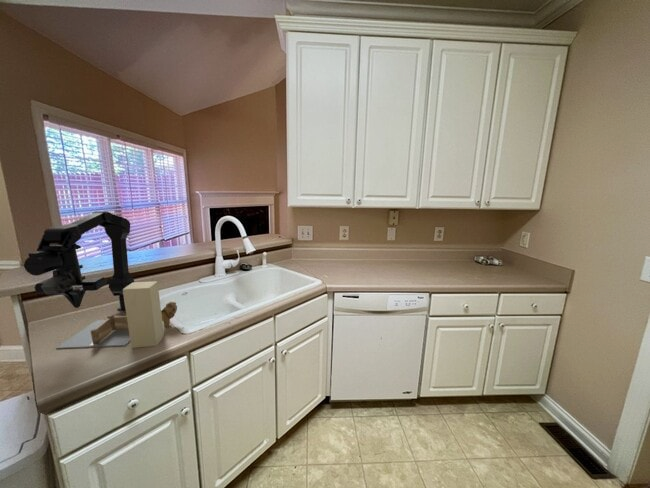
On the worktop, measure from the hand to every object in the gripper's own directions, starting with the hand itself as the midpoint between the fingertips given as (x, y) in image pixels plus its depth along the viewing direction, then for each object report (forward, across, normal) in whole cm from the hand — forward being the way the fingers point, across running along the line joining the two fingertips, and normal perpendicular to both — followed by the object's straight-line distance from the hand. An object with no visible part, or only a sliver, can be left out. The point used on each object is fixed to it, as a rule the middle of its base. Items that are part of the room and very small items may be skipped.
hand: (77, 307), depth 93 cm
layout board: (+12, +7, +2) cm, 14 cm away
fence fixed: (+11, +12, +3) cm, 17 cm away
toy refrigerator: (+12, +24, -5) cm, 28 cm away
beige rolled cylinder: (+11, +8, -2) cm, 13 cm away
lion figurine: (+12, +24, +4) cm, 27 cm away
